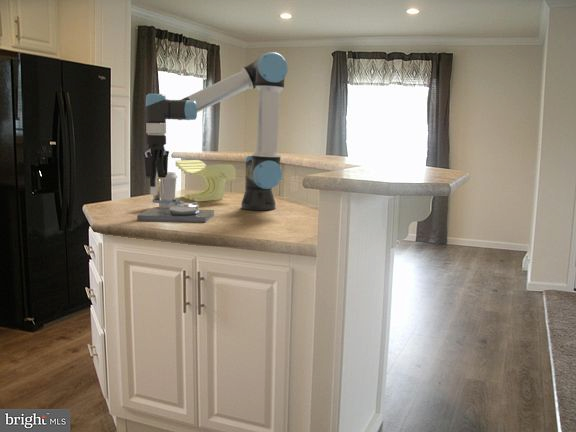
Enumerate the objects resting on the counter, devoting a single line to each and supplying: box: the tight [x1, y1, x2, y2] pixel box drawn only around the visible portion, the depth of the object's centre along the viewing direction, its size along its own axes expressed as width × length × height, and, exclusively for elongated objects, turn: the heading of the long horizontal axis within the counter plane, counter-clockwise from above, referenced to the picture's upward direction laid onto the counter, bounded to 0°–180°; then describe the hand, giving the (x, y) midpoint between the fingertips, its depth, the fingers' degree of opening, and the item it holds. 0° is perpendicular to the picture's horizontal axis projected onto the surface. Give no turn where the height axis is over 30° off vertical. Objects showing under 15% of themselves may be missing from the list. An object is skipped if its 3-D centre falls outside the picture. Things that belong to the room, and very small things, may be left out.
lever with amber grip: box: [152, 179, 200, 215], centre depth 214 cm, size 20×11×12 cm, turn 68°
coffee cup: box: [156, 171, 178, 209], centre depth 238 cm, size 10×10×15 cm
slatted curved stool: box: [175, 159, 237, 202], centre depth 267 cm, size 30×16×18 cm, turn 39°
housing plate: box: [136, 208, 215, 223], centre depth 214 cm, size 26×17×2 cm, turn 87°
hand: (157, 194), depth 217 cm, fingers closed on lever with amber grip, 3 cm apart
